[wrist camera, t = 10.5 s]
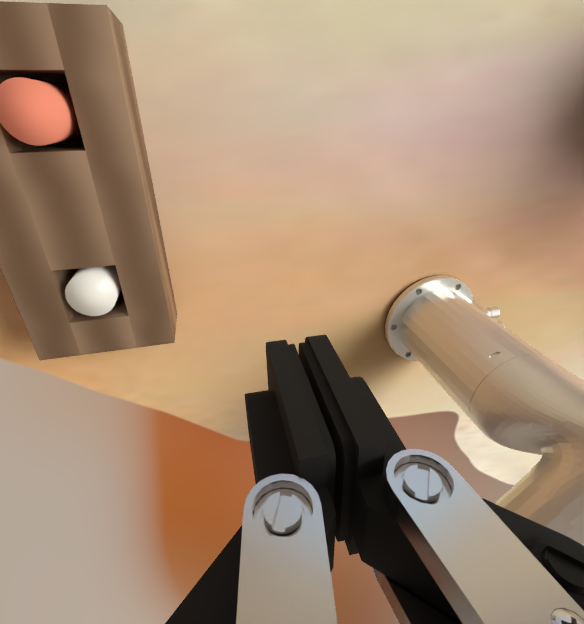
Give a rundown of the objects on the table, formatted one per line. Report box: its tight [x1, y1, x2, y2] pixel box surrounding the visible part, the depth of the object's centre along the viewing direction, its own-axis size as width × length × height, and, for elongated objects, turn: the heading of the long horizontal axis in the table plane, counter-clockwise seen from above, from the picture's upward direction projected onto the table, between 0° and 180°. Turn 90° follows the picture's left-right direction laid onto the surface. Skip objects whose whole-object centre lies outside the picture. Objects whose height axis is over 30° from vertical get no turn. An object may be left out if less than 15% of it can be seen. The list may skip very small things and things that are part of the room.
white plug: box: [65, 265, 121, 316], centre depth 34 cm, size 4×4×6 cm
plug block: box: [0, 2, 177, 360], centre depth 31 cm, size 12×26×6 cm, turn 1°
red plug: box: [0, 77, 80, 146], centre depth 27 cm, size 4×4×6 cm
